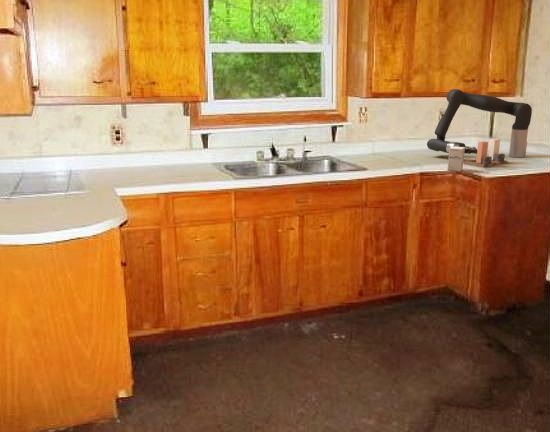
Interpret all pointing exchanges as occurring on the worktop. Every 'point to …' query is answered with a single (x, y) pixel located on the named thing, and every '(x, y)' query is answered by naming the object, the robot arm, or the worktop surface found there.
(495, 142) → the key white
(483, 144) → the pink tall block
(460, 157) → the supplement box
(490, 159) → the switch bench
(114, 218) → the worktop surface
